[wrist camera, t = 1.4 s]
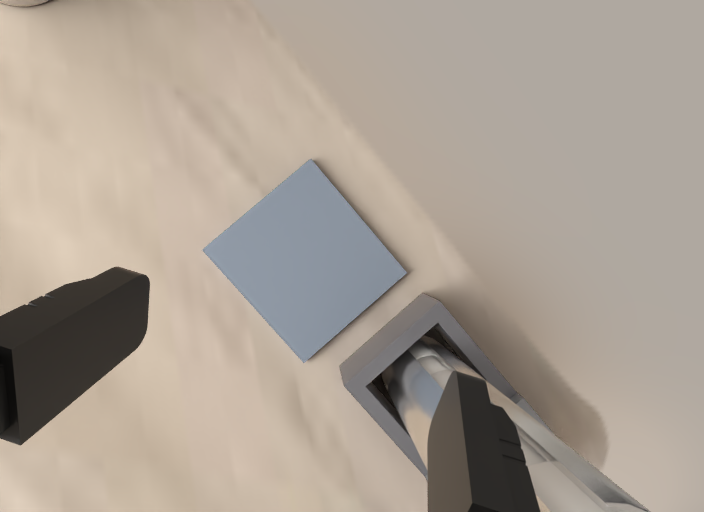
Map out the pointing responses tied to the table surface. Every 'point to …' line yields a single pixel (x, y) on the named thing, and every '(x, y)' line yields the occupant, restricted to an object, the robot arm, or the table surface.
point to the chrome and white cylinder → (536, 441)
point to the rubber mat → (305, 260)
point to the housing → (394, 344)
